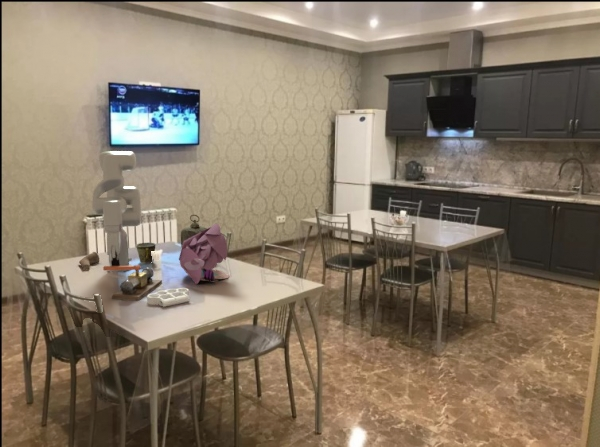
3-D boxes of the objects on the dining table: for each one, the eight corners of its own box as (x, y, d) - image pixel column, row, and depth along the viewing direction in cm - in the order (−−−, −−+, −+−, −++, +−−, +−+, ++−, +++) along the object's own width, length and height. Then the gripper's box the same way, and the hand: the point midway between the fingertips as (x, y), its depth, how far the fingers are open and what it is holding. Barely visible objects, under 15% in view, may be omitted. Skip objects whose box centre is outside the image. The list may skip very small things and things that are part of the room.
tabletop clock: (210, 258, 276) (209, 215, 271) (199, 262, 268) (197, 217, 264) (191, 255, 283) (190, 212, 279) (180, 258, 276) (178, 214, 271)
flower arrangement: (241, 291, 237) (254, 235, 233) (197, 291, 221) (210, 231, 217) (206, 268, 262) (217, 217, 259) (165, 266, 247) (176, 212, 243)
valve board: (137, 281, 233) (137, 278, 232) (161, 283, 231) (161, 280, 231) (111, 298, 209) (111, 295, 209) (138, 300, 208) (138, 296, 207)
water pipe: (142, 279, 231) (141, 262, 229) (154, 280, 230) (154, 263, 229) (119, 294, 210) (118, 276, 208) (132, 295, 209) (131, 276, 207)
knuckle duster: (155, 310, 197) (142, 300, 209) (197, 301, 208) (182, 292, 219) (155, 302, 197) (142, 293, 208) (196, 294, 207) (182, 285, 219)
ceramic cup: (135, 261, 269) (135, 243, 267) (154, 259, 273) (154, 241, 271) (138, 267, 257) (138, 248, 255) (158, 265, 261) (157, 247, 260)
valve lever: (104, 268, 218) (104, 265, 217) (140, 268, 220) (140, 265, 220) (103, 270, 215) (103, 267, 215) (139, 269, 217) (139, 266, 217)
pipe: (80, 262, 248) (101, 257, 252) (76, 254, 262) (96, 249, 266) (83, 274, 250) (104, 268, 254) (79, 266, 264) (99, 261, 268)
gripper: (106, 225, 222) (108, 264, 226) (102, 232, 208) (104, 273, 212) (123, 224, 224) (125, 263, 228) (121, 231, 210) (123, 272, 213)
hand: (115, 268), depth 220 cm, fingers closed
